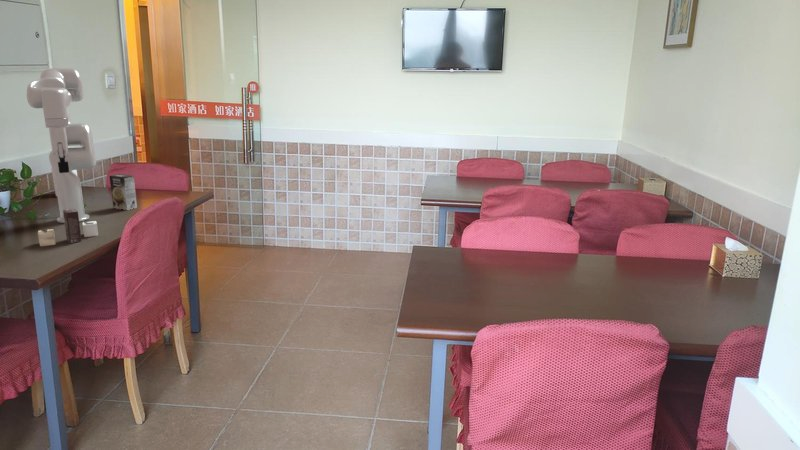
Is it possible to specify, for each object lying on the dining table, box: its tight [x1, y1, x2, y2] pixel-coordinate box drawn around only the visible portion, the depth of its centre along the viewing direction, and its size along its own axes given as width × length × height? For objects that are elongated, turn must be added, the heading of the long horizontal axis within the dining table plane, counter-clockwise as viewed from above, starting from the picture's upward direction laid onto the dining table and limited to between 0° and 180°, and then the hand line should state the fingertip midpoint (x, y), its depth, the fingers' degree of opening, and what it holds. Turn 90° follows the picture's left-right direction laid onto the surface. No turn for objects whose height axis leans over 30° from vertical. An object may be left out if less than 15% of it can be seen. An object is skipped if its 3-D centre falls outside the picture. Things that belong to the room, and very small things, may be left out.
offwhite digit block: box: [81, 220, 99, 238], centre depth 233 cm, size 5×5×5 cm
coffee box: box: [109, 173, 138, 211], centre depth 275 cm, size 9×6×16 cm
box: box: [63, 209, 82, 244], centre depth 224 cm, size 6×4×12 cm
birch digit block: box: [37, 228, 56, 247], centre depth 221 cm, size 5×5×5 cm
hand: (64, 171), depth 218 cm, fingers closed
